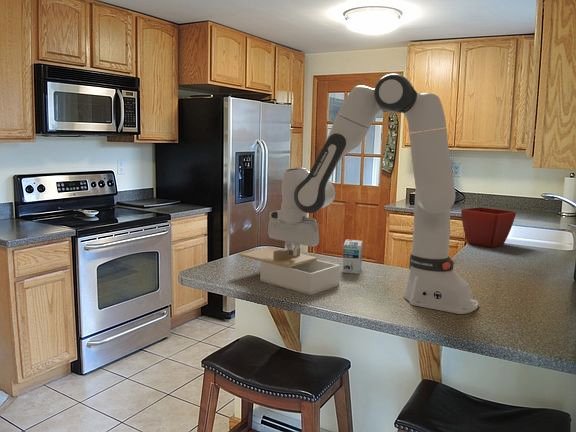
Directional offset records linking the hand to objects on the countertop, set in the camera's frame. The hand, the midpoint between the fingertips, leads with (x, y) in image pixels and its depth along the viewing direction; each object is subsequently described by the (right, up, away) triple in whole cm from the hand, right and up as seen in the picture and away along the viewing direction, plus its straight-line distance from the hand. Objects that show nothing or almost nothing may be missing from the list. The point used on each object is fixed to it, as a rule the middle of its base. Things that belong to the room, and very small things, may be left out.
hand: (292, 254), depth 172 cm
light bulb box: (+23, -7, +19) cm, 30 cm away
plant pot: (+96, -1, +74) cm, 121 cm away
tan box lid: (-5, -1, +5) cm, 7 cm away
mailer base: (+2, -10, -1) cm, 10 cm away
